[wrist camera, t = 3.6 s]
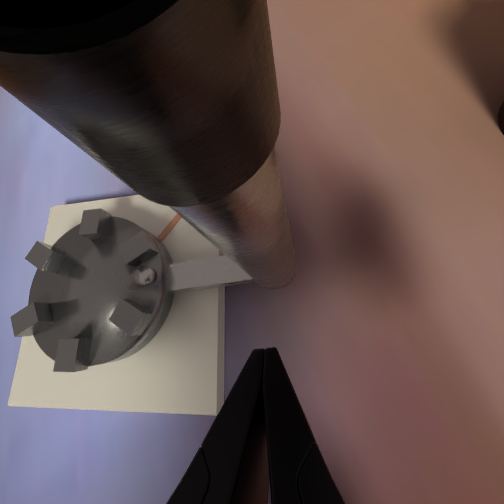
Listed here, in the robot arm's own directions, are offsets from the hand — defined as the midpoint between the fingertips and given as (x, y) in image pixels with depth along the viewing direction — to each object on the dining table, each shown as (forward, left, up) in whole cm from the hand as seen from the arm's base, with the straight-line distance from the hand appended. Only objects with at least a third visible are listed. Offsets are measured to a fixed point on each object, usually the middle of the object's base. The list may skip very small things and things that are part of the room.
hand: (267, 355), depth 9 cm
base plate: (+4, +12, -9) cm, 16 cm away
